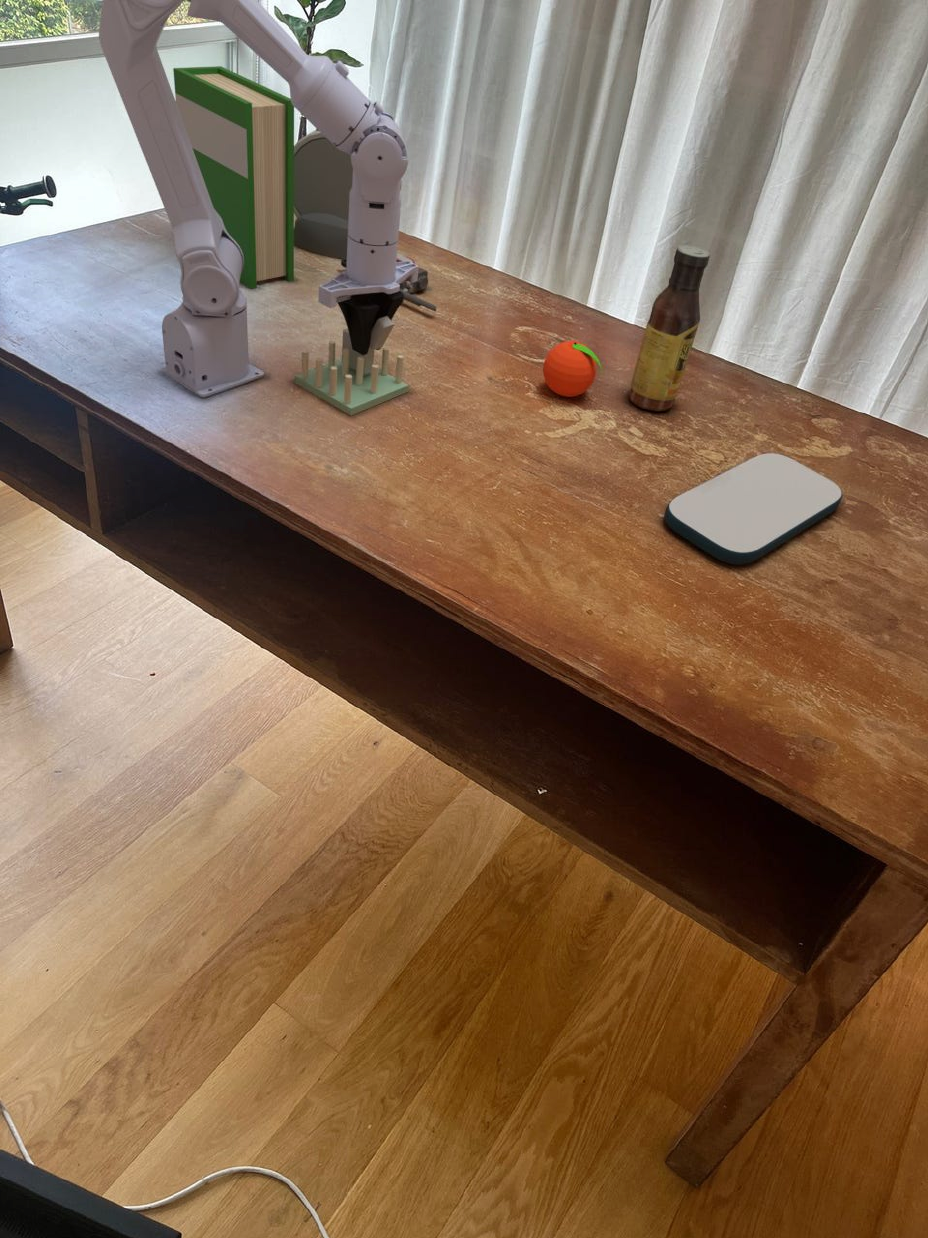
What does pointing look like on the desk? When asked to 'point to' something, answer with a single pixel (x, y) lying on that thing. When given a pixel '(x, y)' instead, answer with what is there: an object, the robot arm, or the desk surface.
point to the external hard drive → (752, 507)
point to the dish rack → (351, 381)
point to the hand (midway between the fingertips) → (366, 349)
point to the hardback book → (244, 163)
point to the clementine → (570, 368)
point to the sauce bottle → (670, 333)
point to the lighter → (376, 342)
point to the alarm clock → (321, 196)
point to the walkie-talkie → (411, 284)
